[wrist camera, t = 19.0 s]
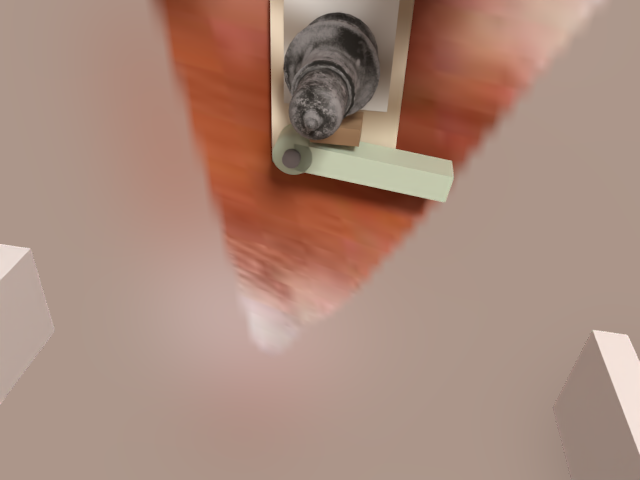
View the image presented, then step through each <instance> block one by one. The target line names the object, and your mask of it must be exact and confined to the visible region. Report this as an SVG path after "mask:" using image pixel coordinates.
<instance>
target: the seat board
mask: <svg viewBox="0 0 640 480" xmlns="http://www.w3.org/2000/svg"><path fill="white" fill-rule="evenodd" d="M413 8H414V0H270V33H271V105H272V151H273V148H274V146H275V144H276V142H277V139H278V137H279V135H280V133H281V131H282V130H283V129H284V128H285V127H286V126H287V125H289V124H291V122H290V118H289V103H290V101H291V98H292V97H291V94H290V92H289V89H288V87H287V85H286V82H285V77H284V71H283V67H284V58H285V54H286V52H287V49H288V47H289V44H290V43H291V42H292V40H293V39H294V38H295V36H296V35H297V34H298V33H299V32H300V31H302V30H303V29H304V28H306V27H307V26H308V25H309V24H310V23H311V22H313V21H314V20H315V19H316V18H318V17H320V16H322V15H325V14H328V13H336V12H341V13H346V14H350V15H352V16H354V17H356V18H359V19H360V20H361V21H362V22H364V23H365V24H366V25H367V26H368V27H369V29H370V30H371V32H372V33H373V35H374V37H375V40H376V43H377V46H378V58H379V61H380V78H379V83H378V87H377V89H376V91H375V93H374V95H373V97H372V99H371V100H370V101H369V102H368V103H367V104H366V105H365V106H364V107H363V108H362V109H360V110H359V111H357V112H355V113H354V114H351V115H348V116H346V117H345V118H344V119H343V120H342V122H341V125H340V127H339V128H338V129H337V131H336V132H335V133H334V134H333V135H331V136H329V137H328V138H325V139H322V140H311V139H310V142H314V143H325V144H336V145H346V146H357V147H359V143H360V141H361V142H365V143H370V144H375V145H380V146H384V147H389V148H394V149H395V148H396V141H397V133H398V125H399V117H400V109H401V102H402V94H403V86H404V78H405V70H406V63H407V55H408V47H409V39H410V31H411V24H412V16H413ZM272 162H274V161H273V158H272Z"/></svg>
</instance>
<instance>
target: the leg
mask: <svg viewBox="0 0 640 480" xmlns="http://www.w3.org/2000/svg"><path fill="white" fill-rule="evenodd" d="M272 158H273V161H274V163H275V165H276V166H277V167H278V168H279V169H280V170H281V171H282V172H284V173H287V174H291V175H298V174H301V173H304V172H305V173H310V174H314V175H319V176H324V177H328V178H333V179H338V180H342V181H347V182H352V183H356V184H361V185H366V186H370V187H375V188H380V189H384V190H389V191H394V192H398V193H403V194H408V195H412V196H417V197H422V198H426V199H431V200H436V201H440V202H445V201H446V199H447V196H448V193H449V190H450V188H451V185H452V182H453V179H454V174H453V166H452V161H450V160H445V159H441V158H436V157H431V156H426V155H422V154H417V153H412V152H408V151H403V150H398V149H394V148H389V147H384V146H380V145H375V144H370V143H365V142H361V141H360V143H359V147H357V146H346V145H336V144H325V143H314V142H310V139H307V138H305V137H303V136H301V135H300V134H299V133H298V132H296V130H295V129H294V128H293V126H292V124H289V125H287V126H286V127H285V128H284V129H283V130H282V131H281V133H280V135H279V137H278V139H277V142H276V144H275V146H274V148H273V151H272Z"/></svg>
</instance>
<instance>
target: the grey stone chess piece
mask: <svg viewBox="0 0 640 480" xmlns="http://www.w3.org/2000/svg"><path fill="white" fill-rule="evenodd" d="M283 71H284V77H285V82H286V85H287V87H288V89H289V92H290V94H291V97H292V98H291V101H290V103H289V118H290V122H291V124H292V126H293V128H294V129H295V130H296V132H298V133H299V134H300V135H301V136H303V137H305V138H307V139H311V140H322V139H325V138H328V137H329V136H331V135H333V134H334V133H335V132H336V131H337V129H338V128H339V127H340V125H341V122H342V120H343V119H344V118H345V117H346V116H348V115H351V114H354V113H355V112H357V111H359V110H360V109H362V108H363V107H364V106H365V105H366V104H367V103H368V102H369V101H370V100H371V99H372V97H373V95H374V93H375V91H376V89H377V87H378V83H379V78H380V61H379V58H378V46H377V43H376V40H375V37H374V35H373V33H372V32H371V30H370V29H369V27H368V26H367V25H366V24H365V23H364V22H362V21H361V20H360V19H359V18H356V17H354V16H352V15H350V14H346V13H341V12H336V13H328V14H325V15H322V16H320V17H318V18H316V19H315V20H314V21H313V22H311V23H310V24H309V25H308V26H307V27H306V28H304V29H303V30H302V31H300V32H299V33H298V34H297V35H296V36H295V38H294V39H293V40H292V42H291V43H290V44H289V47H288V49H287V52H286V54H285V58H284V67H283Z"/></svg>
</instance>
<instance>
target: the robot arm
mask: <svg viewBox="0 0 640 480" xmlns="http://www.w3.org/2000/svg"><path fill="white" fill-rule="evenodd" d="M54 331H55V329H54V326H53V323H52V319H51V315H50V312H49V309H48V306H47V302H46V298H45V295H44V292H43V288H42V285H41V282H40V279H39V275H38V271H37V268H36V265H35V261H34V258H33V255H32V251H31V249H30V248H24V247H17V246H10V245H3V244H0V404H1V403H2V402H3V400H4V399H5V397H6V396H7V395H8V393H9V392H10V390H11V389H12V388H13V387H14V385H15V384H16V383H17V381H18V380H19V379H20V377H21V376H22V374H23V373H24V372H25V370H26V369H27V368H28V366H29V365H30V363H31V362H32V361H33V360H34V358H35V357H36V356H37V354H38V353H39V351H40V350H41V349H42V347H43V346H44V345H45V343H46V342H47V341H48V339H49V338H50V337H51V335H52V334H53V333H54ZM553 411H554V414H555V419H556V422H557V426H558V430H559V434H560V438H561V442H562V446H563V450H564V454H565V458H566V462H567V465H568V469H569V473H570V477H571V480H640V361H639V359H638V357H637V355H636V352H635V350H634V348H633V346H632V343H631V341H630V339H629V337H628V335H625V334H617V333H611V332H604V331H597V330H592V332H591V334H590V336H589V337H588V339H587V341H586V343H585V345H584V347H583V349H582V351H581V353H580V355H579V357H578V359H577V361H576V363H575V365H574V367H573V369H572V371H571V373H570V375H569V377H568V379H567V381H566V383H565V385H564V387H563V389H562V391H561V392H560V394H559V396H558V398H557V400H556V402H555V404H554V406H553Z"/></svg>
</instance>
